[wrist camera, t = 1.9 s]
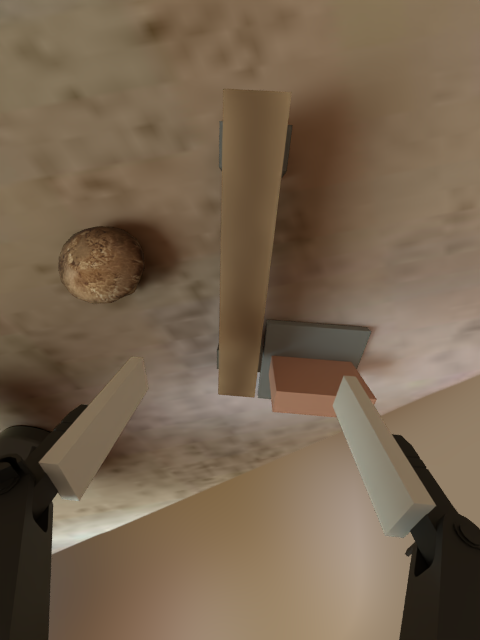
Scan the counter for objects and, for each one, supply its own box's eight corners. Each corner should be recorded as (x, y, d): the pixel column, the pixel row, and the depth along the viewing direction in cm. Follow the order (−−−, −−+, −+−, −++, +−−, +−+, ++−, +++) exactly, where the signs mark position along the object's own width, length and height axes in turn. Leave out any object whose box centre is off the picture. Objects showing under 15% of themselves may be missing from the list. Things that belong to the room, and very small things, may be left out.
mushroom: (136, 325, 23) (84, 312, 17) (87, 293, 25) (25, 272, 19) (173, 263, 23) (137, 230, 17) (123, 237, 25) (74, 199, 19)
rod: (222, 370, 24) (218, 394, 21) (229, 117, 14) (223, 89, 11) (253, 373, 24) (254, 397, 21) (282, 120, 14) (291, 92, 11)
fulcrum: (257, 392, 31) (259, 437, 24) (267, 319, 25) (272, 353, 19) (339, 399, 30) (362, 447, 24) (367, 327, 25) (405, 364, 19)
